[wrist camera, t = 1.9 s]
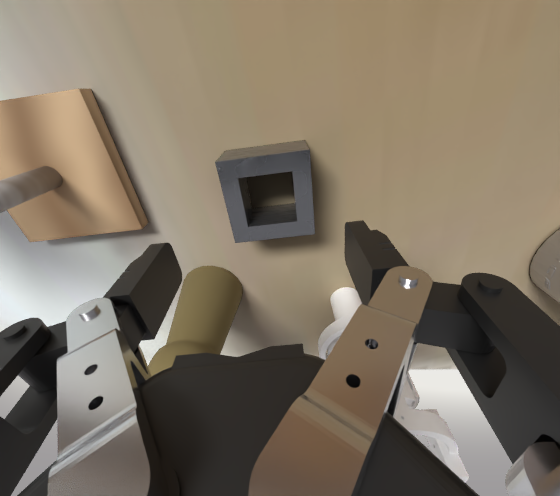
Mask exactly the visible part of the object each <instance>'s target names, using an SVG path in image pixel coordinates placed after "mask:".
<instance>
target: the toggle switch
mask: <svg viewBox="0 0 560 496" xmlns="http://www.w3.org/2000/svg"><path fill="white" fill-rule="evenodd" d="M5 210H7V211H8V213H9V214H10V215H11V217H12V218H13V219H14V221H15V222H16V224H17V225H18V226H19V228H20V229H21V230H22V232H23V233H24V235H25V236H26V237H27V239H28V240H29V241H30V242H36V241H44V240H53V239H61V238H70V237H79V236H87V235H96V234H104V233H113V232H121V231H130V230H139V229H143V228H144V227H145V226H146V225H147V224H148V221H147V218H146V216H145V214H144V211H143V209H142V207H141V204H140V202H139V200H138V197H137V195H136V193H135V190H134V188H133V186H132V184H131V181H130V179H129V177H128V174H127V172H126V170H125V167H124V165H123V163H122V160H121V158H120V156H119V153H118V151H117V149H116V146H115V144H114V142H113V139H112V137H111V135H110V133H109V130H108V128H107V126H106V123H105V121H104V119H103V116H102V114H101V112H100V109H99V107H98V105H97V102H96V100H95V98H94V95H93V93H92V91H91V89H74V90H67V91H61V92H55V93H48V94H42V95H35V96H29V97H22V98H16V99H9V100H3V101H0V213H1V212H3V211H5Z"/></svg>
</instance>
